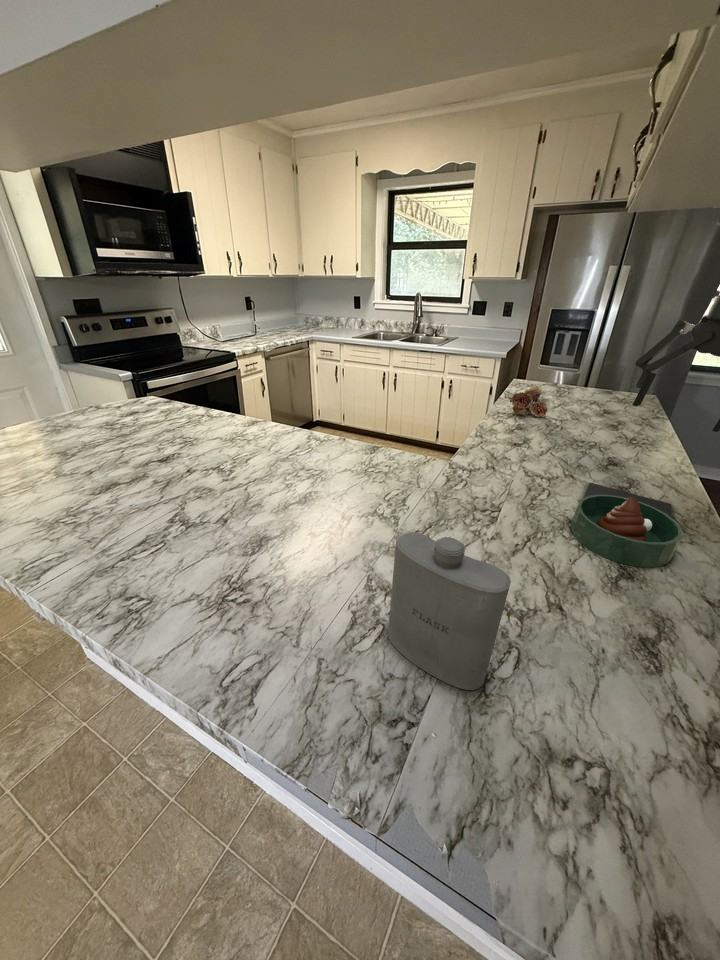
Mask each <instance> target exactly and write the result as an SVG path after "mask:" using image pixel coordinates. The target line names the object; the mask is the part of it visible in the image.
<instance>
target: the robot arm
mask: <svg viewBox="0 0 720 960" xmlns="http://www.w3.org/2000/svg"><path fill="white" fill-rule="evenodd" d="M716 292H717V293H719V294H718V295H715V296H714V297H712V298H711V300H710V303H709V304H708V306H707V308H706V309H705V311H704V313H703V315H702V317H701V319H700V320H699V322H698V323H696V324H692V323H689V322H687V321H686V320H678V321H677V322H676V323H675V325H674V326H673V328H672V329H671V331H670V332H669V333H667V335H665V336H664V337H663V338H662V339H661V340H659V341H658V342H657V343H656V344H655V345H654V346H653V347H651V348H650V349H649V350H648V351H647V352H645V353H644V354H643V355H642V356H641V357H639V359H637V360H636V361H635V366H636V367H638V368H640V369H641V370H642V372H641V374H640V376H639V378H638V380H637V382H636V388H637V389H639V390H638V392H637V395H636V397H635V398H634V401H633V403H632V406H634V407H639V406H641V405H642V403H643V400H644V399H645V397H646V395H647V394H648V391H649V390H650V387H651V386H652V384H653V382H654V380H655V378H656V376H657V373H655V372H654V371H656V370H658V369H660V368H662V367H664V366H665V365H667V364H669V363H671V362H673V361H675V360H676V359H679V358H680V357H683V356H685V355H686V354H688V353H691V352H692V351H694V350H696V351H697V352H698V353H701V354H710V355H712V356H714V357H718V358H720V284H719V285H718V287H717V289H716ZM688 332H691V336H692V340H691V341H689V342H687V343H686V344H683V345H682V346H681V347H679V348H677V349H675V350H673V351H671V352H670V353H668V354H665V355H664V356H662V357H660V358H659V359H657V360H655V361H653V362H651V361H652V360H653V359H654V358H656V357H657V356H658V355H659V354H660V353H662V352H663V351H664V350H665V349H666V348H668V346H670V345H671V344H672V343H673V342H674V341H677V339H678V338H679V337H680V336H681V335H682V336H683V335H686V334H687V333H688ZM650 362H651V363H650ZM711 431H712V432H714V433H718V432H720V418H719V419H718V421H717V422H716V423H715V425H714V427H713V429H712V430H711Z"/></svg>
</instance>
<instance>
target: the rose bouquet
mask: <svg viewBox="0 0 720 960" xmlns="http://www.w3.org/2000/svg"><path fill="white" fill-rule="evenodd" d="M541 395H542V390H541V388H539V387H537V386H532V387H530V388H528V389H525V391H524V392H522V391H521V392H518V393H514V394H513V395H512V396H511V397H509V398H508V400H509V402H510V403H511V404H512V408H511V409H512V411H513V414H514V415H519V416H520V415H525V414H526V413H529V414H531V415H533V416H534V417H537V418H539V417H540V418H541V417H543V418H546V416H547V413H548V406H547V403H546V402H544V401H543V400H541V399H540V397H541Z"/></svg>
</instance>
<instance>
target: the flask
mask: <svg viewBox="0 0 720 960" xmlns="http://www.w3.org/2000/svg"><path fill="white" fill-rule="evenodd" d="M394 547H395V548H394V559H393V571H392V572H393V573H392V584H391V595H390V607H389V617H388V630H387V637H388V639H389V642H390V643H391V645H392V646H393V647H394V648H395V649H396V650H397V651H398V652H399V653H400V654H401V655H403V657H405V658H406V659H407V660H408V661H410V662H411V663H412V664H414V665H415V666H416V667H418V668H419V669H421V670H423V672H426V673H427V674H429V675H431V676H433V677H434V678H436V679H437V680H440V681H442V682H444V683H446V684H448V685H450V686H453V687H455V688H458V689H462V690H465V691H474V690H478V689H480V688H481V687H482V686H483V685H484V683H485V680H486V676H487V673H488V670H489V669H488V668H489V665H490V661H491V657H492V653H493V650H494V646H495V644H496V643H495V642H496V639H497V635H498V631H499V628H500V624H501V620H502V616H503V613H504V609H505V605H506V602H507V598H508V595H509V591H510V587H511V584H512V581H511V577H510V575H508V573H507V572H506V571H505V570H503V569H502V568H500V567H498V566H496V565H494V564H492V563H488V562H485V561H482V560H479V559H475V558H473V557H470V556H467V555H465V552H466V551H465V550H466V548H465V545H464V544H463V543H462V541H460V540H458V539H456V538H454V537H448V536H447V537H441V538H438V539H437V540H435V539H433V538H431V537H429V536H428V535H426V534H424V533H421V532H416V531H415V532H413V531H411V532H410V531H409V532H405V533H402V534H401V535H398V536H397V538H396V539H395V546H394Z"/></svg>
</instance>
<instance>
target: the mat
mask: <svg viewBox="0 0 720 960" xmlns="http://www.w3.org/2000/svg"><path fill="white" fill-rule="evenodd" d="M592 495H613V496H620V497H625V498H628V497H633V498H635V499H636V500H637V501H639V502H642V503H645V504H647V505H650V506H652V507H654V508H656V509H658V510H660V511H662V512H664V513H666V514H667V515H668V516H670V517H671V518H672V503H669V502H665V501H661V500H658V499H653V498H650V497H646V496H643V495H639V494H635V493H631V492H628V491H623V490H619V489H615V488H612V487H608V486H606V485H605V486H604V485H600V484H597V483H594V482H589V483H588V485H587V487H586V490H585V493H584V495H583V497H582V499H583V498H584V497H586V496H592Z"/></svg>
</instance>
